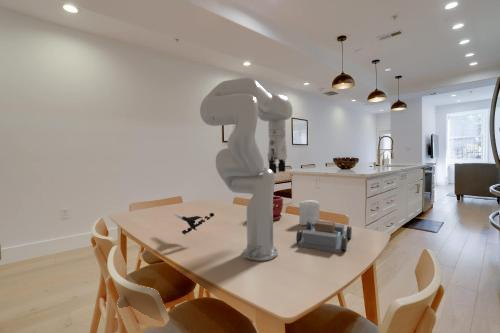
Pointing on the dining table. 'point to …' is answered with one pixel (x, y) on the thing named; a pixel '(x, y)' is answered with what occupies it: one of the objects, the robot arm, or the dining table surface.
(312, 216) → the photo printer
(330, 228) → the brown cardboard carton
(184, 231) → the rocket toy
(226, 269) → the dining table surface
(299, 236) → the chassis
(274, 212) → the plant pot
